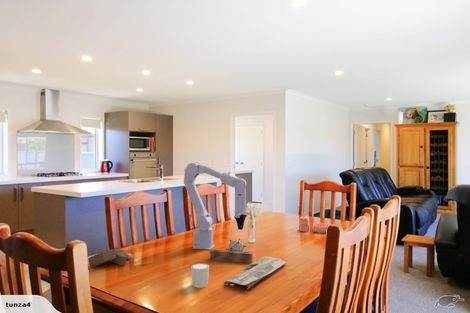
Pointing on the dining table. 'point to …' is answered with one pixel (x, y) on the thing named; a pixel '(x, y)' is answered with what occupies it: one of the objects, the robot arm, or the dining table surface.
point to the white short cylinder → (200, 275)
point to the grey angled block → (110, 257)
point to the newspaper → (255, 271)
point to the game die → (236, 246)
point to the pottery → (316, 226)
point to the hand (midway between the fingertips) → (240, 229)
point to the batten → (231, 256)
